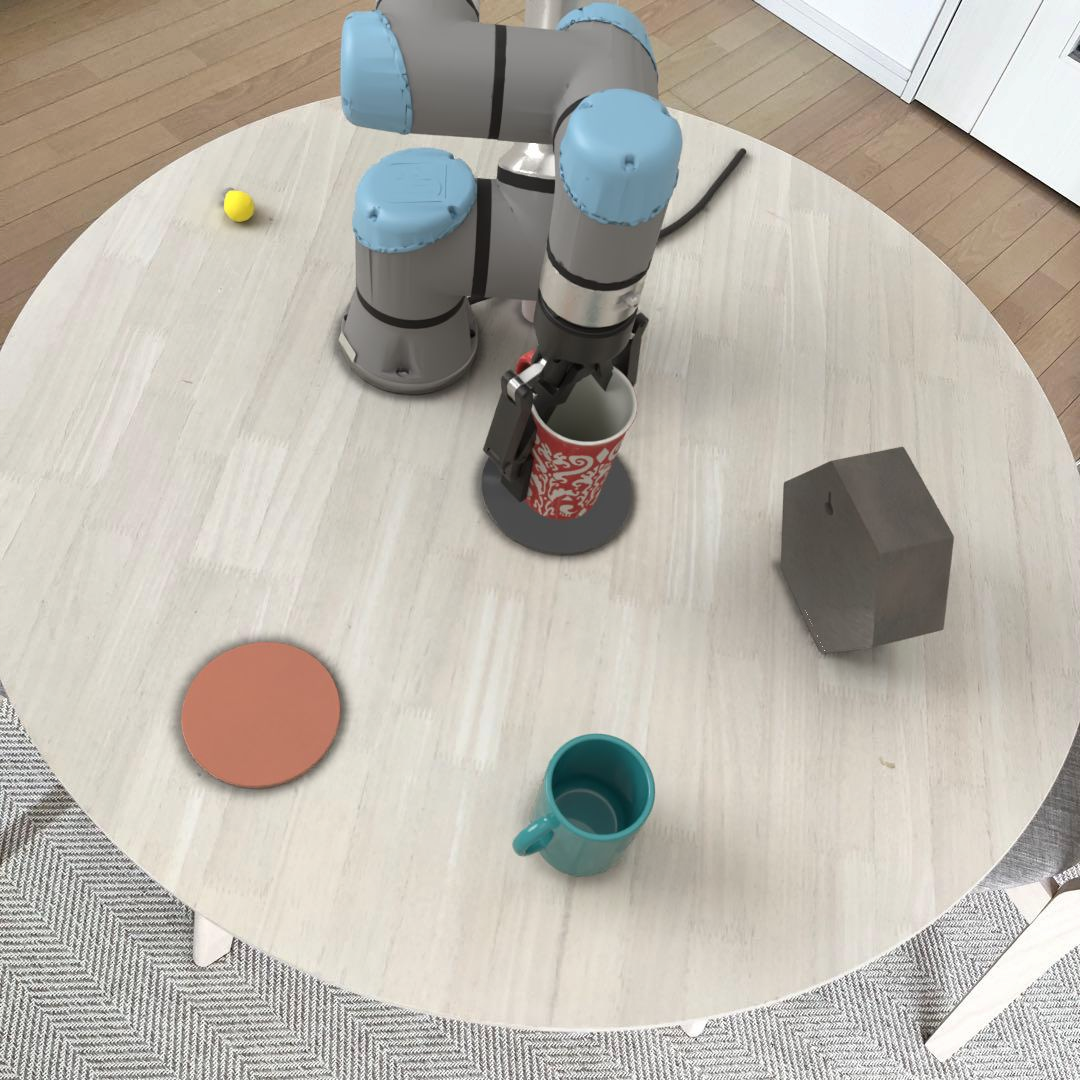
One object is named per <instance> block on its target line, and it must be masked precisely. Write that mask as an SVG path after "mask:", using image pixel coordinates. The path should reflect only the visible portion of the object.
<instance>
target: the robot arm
mask: <svg viewBox="0 0 1080 1080" xmlns="http://www.w3.org/2000/svg"><path fill="white" fill-rule="evenodd" d="M524 7H525V8H524V19H523V20H524V21H523V26H517V25H516V26H515V25H506V24H496V23H495V24H494V23H486V22H480V21H481V20H480V19H481V17H480V16H481V0H375V2H374V9H371V10H369V11H352V12H350V13H349V14H348V15H346V17H345V19H344V21H343V24H342V29H341V30H342V31H341V43H340V100H341V110H342V113H343V115H344V117H345V119H346V120H347V121H348V122H349V123H350V124H351V125H353V126H356V127H359V128H365V129H370V130H376V131H382V132H388V133H395V134H399V135H402V136H406V135H409V134H412V135H423V136H425V135H427V136H439V137H453V138H454V137H456V138H470V139H485V140H493V141H494V140H497V141H499V142H511V143H512V142H513V145H512V146H511V147H510V148H509V149H508V150H507V151H505V153H504V154H502V155H501V156H500V157H499V158H498V161H497V168H496V178H485V177H484V178H483V177H475V174H474V172H473V170H472V169H471V167H470V166H469V165H468V164H467V163H466V161H464V159H462V158H461V157H458V158H454V157H455V156H454V154H453V153H451V152H449V151H447V150H443V149H441V148H440V149H439V148H436V147H435V148H434V147H409V148H405V149H401V150H396V151H395V152H392V153H389V154H387V155H385V156H384V157H382V158H381V159H380V160H379V162H377V163H373V164H372V165H371V166H369V168H368V169H366V171H365V172H364V173H363V174H362V176H361V178H360V179H359V182H358V184H357V186H356V190H355V195H354V210H353V214H352V218H351V219H352V220H351V227H352V232H353V233H354V241H355V242H354V243H355V245H354V248H355V250H354V251H355V252H354V253H355V288H354V290H353V293H352V295H351V297H350V300H349V302H348V304H347V306H346V308H345V310H344V312H343V314H342V318H341V321H340V327H339V328H340V330H339V333H340V335H339V337H338V342H339V343H340V348H341V351H342V354H343V357H344V359H345V362H346V363H347V364H348V366H349V368H351V369H352V371H353V372H354V373H355V374H356V375H357V376H358V377H360V378H361V379H362V380H363V381H365V382H367V383H368V384H370V385H372V386H374V387H376V388H377V389H381V390H383V391H387V392H391V393H396V394H401V395H421V394H422V395H423V394H429V393H433V392H436V391H441V390H443V389H445V388H447V387H450V386H452V385H453V384H454V383H456V382H457V381H459V380H460V379H461V378H462V377H463V376H464V375H466V374H467V372H468V371H469V370H470V369H471V367H472V365H473V364H474V361H475V359H476V356H477V351H478V343H479V328H478V323H477V320H476V317H475V315H474V312H473V309H472V307H471V306H472V305H475V304H478V303H481V302H485V301H488V300H491V299H501V300H502V299H504V300H517V301H519V300H520V301H522V300H531V301H536V306H535V312H534V323H533V328H534V333H535V336H536V337H535V338H536V341H537V347H536V348H535V350H536V351H535V353H534V354H533V356H532V358H531V366H530V367H529V368H527V369H526V370H524V371H523V372H522V373H520V374H519V375H518V374H517V375H516V374H515V371H514V370H513V369H509V370H506V371H505V372H504V373H503V374H502V375H501V378H500V388H501V391H500V395H499V398H498V401H497V404H496V408H495V411H494V413H493V417H492V420H491V422H490V427H489V429H488V432H487V434H486V438H485V441H484V445H483V448H482V451H483V452H484V453H485V455H486V456H487V457H488V458H490V459H491V460H492V461H493V462H494V463H495V464H496V465H497V466H498V467H499V470H500V472H501V473H502V476H501V483H502V484H503V485H504V486H505V487H506V489H507V490H508V491H509V492H510V493H511V494H512V495H513V496H514V497H515V498H516V499H517V500H518V501H519V502H522V501H523V500H525V499H526V497H527V492H528V488H529V483H530V478H531V473H532V467H533V460H534V457H533V456H532V454H531V453H530V452H531V450H532V449H533V447H534V445H535V439H536V431H537V426H536V423H535V421H534V418H533V415H532V412H531V410H532V406H533V405H534V406H535V409H536V411H537V413H538V415H539V417H540V418H541V420H542V421H543V422H544V423H545V424H547V422H548V420H549V419H550V417H551V415H552V413H553V412H554V410H555V408H556V406H557V405H560V404H563V403H565V402H566V400H567V398H568V397H569V395H570V393H571V392H572V390H573V388H574V386H575V385H576V383H577V382H579V381H581V380H582V379H583V378H585V377H587V376H589V375H590V374H591V375H592V376H593V378H594V379H595V380H596V381H597V383H598V384H599V385H600V386H601V388H602V389H603V390H604V391H606V389H607V386H608V384H609V381H610V379H611V377H612V375H613V373H612V370H613V369H614V367H616V368H617V369H618V370H620V371H621V372H622V373H623V374H624V375H625V376H626V377H627V379H628V380H629V381H630V383H631V384H632V386H633V388H634V387H635V385H636V384H637V379H638V371H639V364H640V355H641V346H642V338H643V335H644V333H645V331H646V329H647V327H648V325H649V322H650V319H649V317H648V316H646V315H645V314H644V313H643V312H642V311H641V310H640V309H639V304H640V302H641V298H642V294H643V290H644V287H645V284H646V279H647V276H648V272H649V269H650V267H651V263H652V260H653V256H654V254H655V251H656V247H657V243H658V241H659V240H661V239H663V238H665V237H667V236H669V235H671V234H673V233H675V232H676V231H678V230H679V229H681V228H683V226H685V225H686V224H687V223H689V222H690V221H691V220H692V219H693V218H695V217H696V216H697V215H698V214H700V212H701V211H703V209H704V208H705V207H706V206H707V205H708V203H709V202H710V201H711V200H712V198H713V197H714V195H715V194H716V193H717V191H719V189H720V187H722V185H723V184H724V183H725V181H727V179H728V178H729V176H731V174H732V173H733V171H734V170H735V169H736V167H737V166H738V165H739V163H740V162H741V161H742V160H743V158H744V157H745V156H746V155H747V149H746V148H743V147H741V148H740V149H739V150H738V151H737V153H736V154H735V155H734V157H733V158H732V159H731V160H730V162H729V163H728V165H726V167H725V169H723V171H722V172H721V174H720V175H719V176H718V177H717V178H716V179H715V181H714V182H713V184H711V186H710V187H709V189H708V190H707V191H706V192H705V194H704V195H703V196H702V198H700V200H698V202H697V203H696V204H695V205H694V206H693V207H692V208H691V209H689V210H688V211H687V212H686V213H684V214H683V215H682V216H681V217H680V218H678V219H677V220H676V221H674V222H673V223H671V224H669V225H667V226H666V227H664V228H662V227H663V224H664V220H665V216H666V214H667V210H668V207H669V203H670V200H671V198H672V197H673V196H674V195H673V194H674V191H675V189H676V188H677V184H678V180H679V176H680V175H679V174H680V169H679V164H680V159H681V155H682V151H683V140H684V139H683V133H682V128H681V126H680V123H679V122H678V120H677V119H676V118H675V117H674V116H672V115H671V114H670V112H669V110H668V108H667V106H666V105H665V104H664V103H662V102H661V101H660V95H659V71H658V68H657V67H658V66H657V62H656V60H655V55H654V54H655V53H654V49H653V45H652V42H651V40H650V36H649V33H648V31H647V28H646V27H645V25H644V24H643V22H642V21H641V20H640V18H639V17H638V16H637V15H636V14H634V13H633V12H631V11H630V10H629V9H627V8H625V7H623V6H621V5H619V0H525V6H524ZM613 366H614V367H613ZM556 388H558V390H557V389H556Z"/></svg>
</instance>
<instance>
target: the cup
mask: <svg viewBox="0 0 1080 1080" xmlns="http://www.w3.org/2000/svg"><path fill="white" fill-rule="evenodd" d="M655 799H656V783H655V778H654V774H653V772H652V770H651V767H650V765H649V763H648V761H647V760H646V759H645V757H644V756H643V754H641V753H640V751H639V750H638V749H637V748H635V746H633V745H632V744H630V743H629V742H628V741H626V740H624V739H622V738H619V737H617V736H614V735H611V734H606V733H586V734H583V735H578V736H576V737H574V738H572V739H569V740H568V741H566V742H565V743H563V744H562V745H561V746H560V747H559V748H558V749H557V750H556V751H555V752H554V754H553V755H552V757H551V758H550V761H549V762H548V765H547V767H546V771H545V773H544V775H543V779H542V781H541V784H540V787H539V790H538V792H537V795H536V798H535V800H534V803H533V804H534V805H533V807H532V810H531V814H530V824H529V825H527V826H526V827H524V828H523V829H522V830H521V831H520V832H519V833H517V835H516V836H515V837H514V838H513V839H512V842H511V845H512V849H513V852H514V853H515V855H517V856H518V857H521V858H524V857H528V856H531V855H534V854H536V853H539V854H540V856H541V857H542V858H543V860H544V861H546V863H548V865H550V866H551V867H552V868H554V869H555V870H557V871H559V872H560V873H563V874H565V875H569V876H573V877H583V878H586V877H594V876H598V875H601V874H603V873H606V872H607V871H609V870H611V869H613V867H615V866H616V865H617V864H618V863H619V862H620V861H621V860H622V859H623V857H624V856H625V854H626V853H627V851H628V850H629V848H630V847H631V845H632V843H633V842H634V840H635V839H636V837H637V836H638V834H639V832H640V831H641V829H643V826H644V825H645V823H646V822H647V820H648V819H649V817H650V815H651V813H652V811H653V808H654V805H655Z"/></svg>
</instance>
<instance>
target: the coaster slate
mask: <svg viewBox="0 0 1080 1080" xmlns="http://www.w3.org/2000/svg"><path fill="white" fill-rule="evenodd" d="M501 476H502V473H501V472H500V470H499V467H498V466H497V465H496V464H495V463H494V462H493V461H492V460H491V459H490V458H489V457H487V459H486V461H485V463H484V466H483V468H482V472H481V478H480V494H481V499H482V502H483V506H484V508H485V510H486V512H487V515H488V516H489V518H490V519H491V521H492V522H493V524H494V525H495V526H496V527H497V528H498V530H500V531H501V532H502V533H503V534H504V536H506V537H508V538H509V539H510V540H512V541H513V542H515V543H517V544H518V545H521V546H522V547H525V548H527V549H529V550H532V551H535V552H538V553H541V554H547V555H554V556H567V555H568V556H569V555H571V556H573V555H579V554H583V553H586V552H589V551H593V550H595V549H597V548H599V547H601V546H603V545H604V544H606V543H607V542H609V541H610V540H611V539H613V538H614V537H615V536H616V535H617V534H618V533H619V532H620V530H621V529H622V528H623V526H624V524H625V523H626V521H627V518H628V516H629V515H630V511H631V506H632V498H633V493H632V491H633V490H632V484H631V479H630V476H629V475H628V472H627V470H626V468H625V466H624V464H623V462H622V461H621V460H620V459H619V457H618V456H617V455H616V457H615V459H614V461H613V464H612V466H611V469H610V471H609V472H608V475H607V477H606V479H605V481H604V484H603V486H602V488H601V491H600V493H599V496H598V498H597V500H596V502H595V504H594V505H593V507H592V508H591V509H590V510H589V511H588V512H586V513H585V514H583V515H582V516H580V517H577V518H574V519H569V520H556V519H551V518H547V517H545V516H543V515H541V514H539V513H537V512H536V511H535V510H533V509H532V508H531V507H530V506H529V505H528V504H527V502H526V501H525V500H523V501H522V502H519V501H518V500H517V499H516V498H515V497H514V496H513V495H512V494H511V493H510V492H509V491H508V490H507V489H506V487H505V486H504V485H503V484H502V483H501Z"/></svg>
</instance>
